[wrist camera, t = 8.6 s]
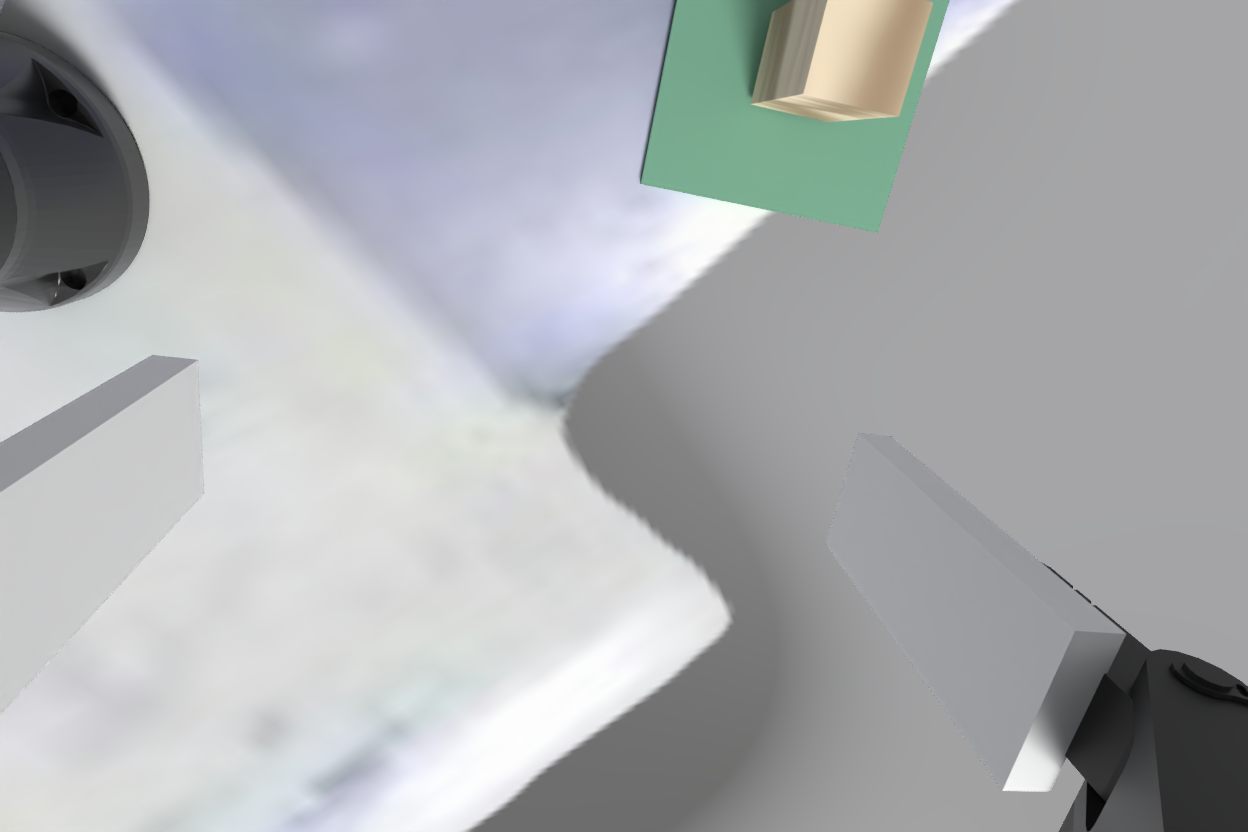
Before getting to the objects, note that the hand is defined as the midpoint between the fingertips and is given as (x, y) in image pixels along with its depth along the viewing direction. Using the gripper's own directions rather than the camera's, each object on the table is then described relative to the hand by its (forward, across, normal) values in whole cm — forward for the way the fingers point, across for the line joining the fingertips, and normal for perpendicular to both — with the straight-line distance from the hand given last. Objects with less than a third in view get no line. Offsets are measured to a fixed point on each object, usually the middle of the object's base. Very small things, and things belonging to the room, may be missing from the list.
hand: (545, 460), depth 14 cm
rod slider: (+32, +14, +16) cm, 39 cm away
